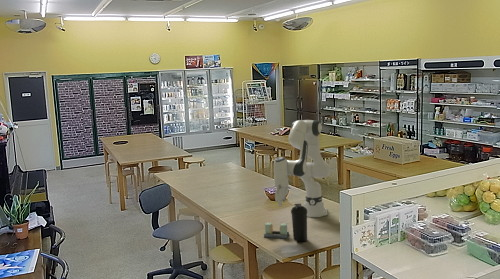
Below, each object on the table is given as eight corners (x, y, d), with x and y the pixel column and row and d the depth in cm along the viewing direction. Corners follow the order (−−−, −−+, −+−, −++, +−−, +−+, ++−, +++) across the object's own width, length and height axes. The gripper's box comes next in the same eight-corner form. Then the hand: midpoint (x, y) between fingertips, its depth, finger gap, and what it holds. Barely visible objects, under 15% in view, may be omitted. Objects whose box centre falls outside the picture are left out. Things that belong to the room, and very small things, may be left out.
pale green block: (287, 235, 280) (286, 223, 279) (286, 237, 277) (285, 225, 276) (281, 235, 282) (280, 223, 280) (279, 237, 278) (279, 225, 277)
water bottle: (305, 236, 280) (304, 202, 276) (310, 242, 270) (309, 206, 266) (290, 238, 278) (288, 203, 275) (294, 244, 268) (293, 208, 265)
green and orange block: (265, 236, 281) (265, 224, 280) (267, 234, 285) (266, 222, 283) (271, 236, 280) (271, 224, 279) (273, 234, 283) (272, 222, 282)
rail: (267, 234, 288) (267, 229, 288) (289, 235, 283) (289, 230, 283) (263, 239, 279) (263, 235, 278) (286, 241, 274) (285, 236, 273)
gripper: (282, 187, 263) (283, 209, 265) (289, 179, 282) (290, 199, 284) (272, 187, 265) (273, 209, 267) (280, 178, 284) (281, 199, 286)
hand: (282, 204), depth 276 cm, fingers open, 8 cm apart
